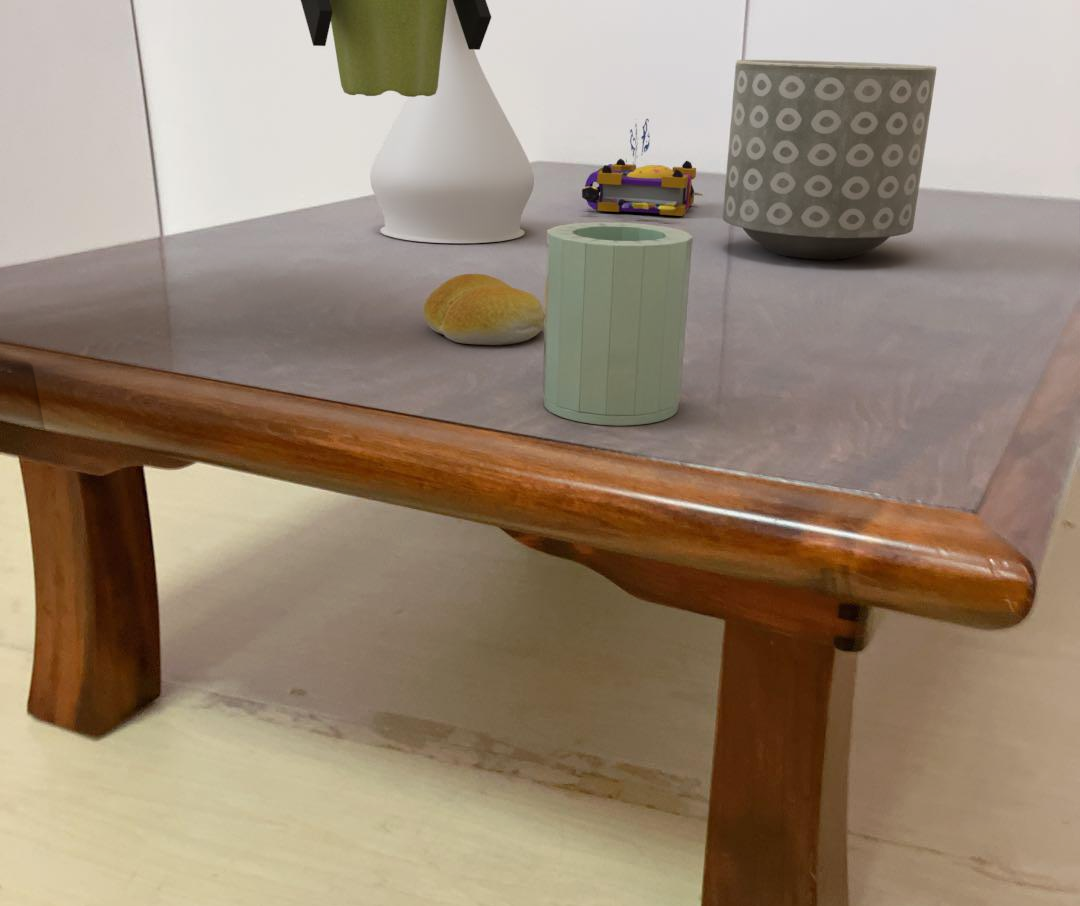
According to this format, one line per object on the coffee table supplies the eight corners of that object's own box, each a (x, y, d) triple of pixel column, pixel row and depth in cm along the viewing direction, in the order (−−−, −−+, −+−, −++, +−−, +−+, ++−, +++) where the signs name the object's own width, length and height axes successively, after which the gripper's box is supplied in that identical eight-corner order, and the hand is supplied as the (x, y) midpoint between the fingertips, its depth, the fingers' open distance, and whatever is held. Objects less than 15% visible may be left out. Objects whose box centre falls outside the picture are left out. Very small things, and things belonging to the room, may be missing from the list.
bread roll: (467, 353, 80) (467, 294, 78) (409, 325, 87) (408, 271, 85) (568, 340, 84) (570, 283, 82) (505, 314, 91) (506, 262, 89)
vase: (400, 249, 117) (394, -30, 107) (352, 223, 131) (343, -25, 121) (559, 241, 124) (567, -22, 114) (496, 217, 138) (499, -18, 128)
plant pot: (284, 93, 75) (276, -59, 72) (382, 90, 82) (379, -48, 79) (396, 101, 70) (393, -61, 67) (490, 97, 78) (491, -49, 74)
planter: (757, 232, 133) (774, 59, 126) (927, 250, 125) (956, 65, 117) (691, 255, 118) (706, 60, 111) (879, 278, 109) (909, 68, 102)
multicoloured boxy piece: (564, 217, 140) (568, 108, 135) (601, 192, 162) (606, 98, 157) (687, 225, 137) (695, 113, 132) (707, 198, 159) (715, 102, 154)
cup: (548, 425, 66) (554, 243, 62) (538, 386, 73) (542, 221, 69) (690, 426, 66) (704, 246, 62) (665, 386, 74) (677, 223, 70)
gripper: (462, -163, 87) (546, 77, 80) (150, -194, 78) (216, 73, 71) (490, -263, 80) (585, -10, 73) (154, -309, 71) (226, -27, 65)
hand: (403, 31), depth 72 cm, fingers closed on plant pot, 9 cm apart
